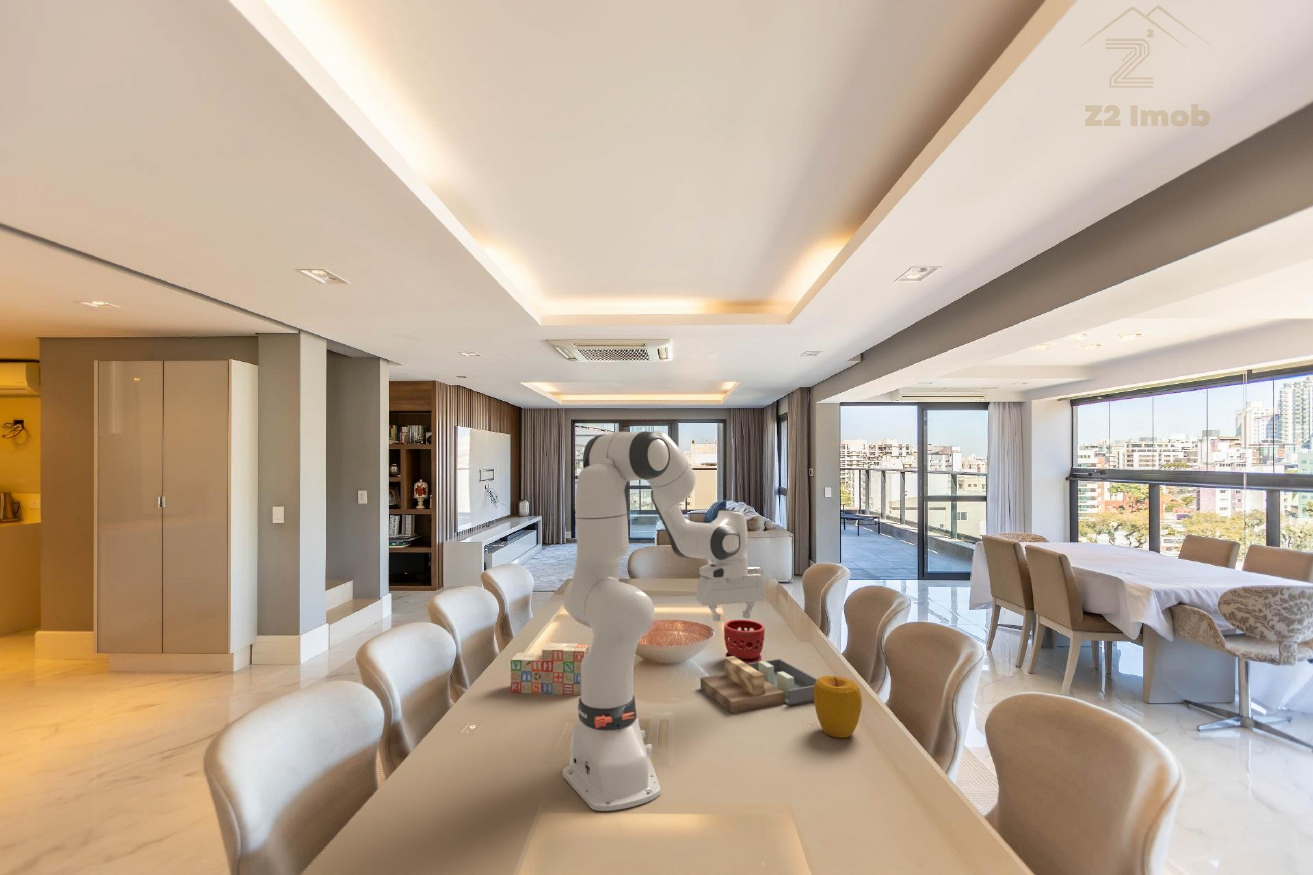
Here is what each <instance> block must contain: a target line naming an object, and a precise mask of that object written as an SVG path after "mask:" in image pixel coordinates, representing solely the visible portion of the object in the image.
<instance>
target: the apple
mask: <svg viewBox="0 0 1313 875" xmlns="http://www.w3.org/2000/svg"><path fill="white" fill-rule="evenodd" d="M816 679H817V680H816V682H815V685H814V690H813V696H814V702H813V703H814V707H815V713H816V717H817V719H818V721H819V725H820V727H821V729H822V731H823V732H824V734H827V736H830V737H833V738H838V739H839V738H840V739H846V738H848V737H851V736H852V735H853V733H854V732H855V730H856V727H857V726H858V723H859V719H860V716H861V713H862V707H863V702H862V701H863V698H862V692H861V689H860V687H859V685H858V684H857V683H856V682H854V681H853V680H852V679H849V678H846V677H844V676H836V675H823V676H820V677H819V678H816Z"/></svg>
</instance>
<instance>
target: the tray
mask: <svg viewBox="0 0 1313 875" xmlns="http://www.w3.org/2000/svg"><path fill="white" fill-rule="evenodd" d="M765 661H766V662H767V663H769V664H771V665H773V666H774V684H772V685H774V686H775V687H777V672H782V671H783V672H785V673H787V674H789V675H790V676H792V677H794V689H791V690H788V697H787V696H785V695H784V701H785V704H786V705H787V706H788V707H794V706H798V705H803V704H809V703H814V696H813V690H814V685H815V682H816V680H817V679H818V678H816V677H814V676H813V675H811V674H809V673H807V672H805V671H803V670H801V669H800V668H797V667H796V666H794V665H792V664H790V663H788V662H787V661H785V660H783V659H781V658H776V659H769V660H765ZM747 665H749V666H751V667H752V668H754V669H756V670H757V671H759V667H758V662H756V663H749V664H747Z"/></svg>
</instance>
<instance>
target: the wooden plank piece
mask: <svg viewBox="0 0 1313 875" xmlns="http://www.w3.org/2000/svg"><path fill="white" fill-rule="evenodd" d="M724 674H725V676H727V677H728V678H730V679H731V680H733V681H734V682H736V683H737V684H738V685H740V686H741V687H743V688H744V689H746V690H747V691H749V692H750V693H751V694H753V695H754V696H756V695H761V694H765V688H764V674H762V673H760V672H759V671H757V670H756V669H754V668H752V667H751V666H749V665H747V664H746V663H744V662H742V661H741V660H739V659H738V658H736V657H734V656H731V657H726V656H725V657H724Z"/></svg>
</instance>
